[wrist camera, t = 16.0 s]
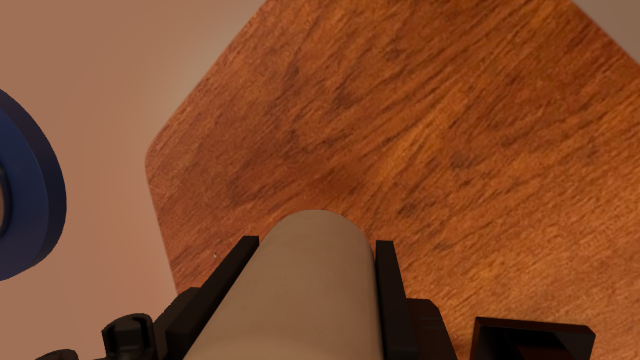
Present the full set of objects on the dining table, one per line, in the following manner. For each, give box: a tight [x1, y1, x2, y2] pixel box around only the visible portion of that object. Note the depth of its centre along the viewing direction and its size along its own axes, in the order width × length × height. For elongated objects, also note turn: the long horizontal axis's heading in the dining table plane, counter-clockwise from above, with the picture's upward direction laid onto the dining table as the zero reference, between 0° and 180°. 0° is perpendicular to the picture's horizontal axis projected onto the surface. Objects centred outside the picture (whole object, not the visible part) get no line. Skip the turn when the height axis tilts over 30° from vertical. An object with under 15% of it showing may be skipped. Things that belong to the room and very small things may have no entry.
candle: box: [183, 209, 385, 360], centre depth 11 cm, size 6×6×10 cm
